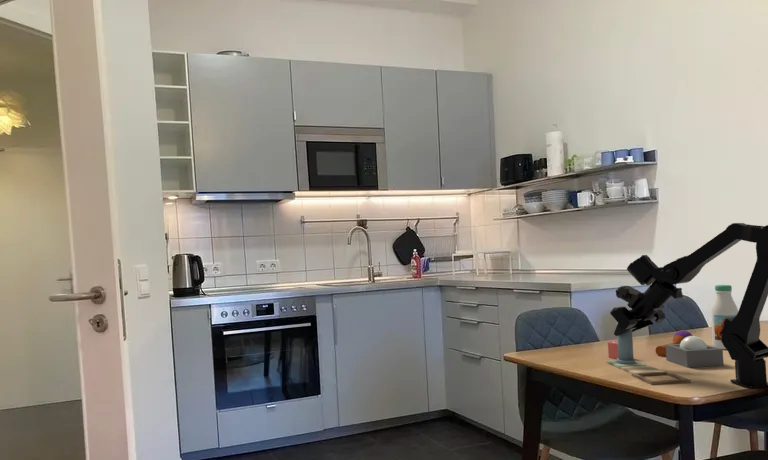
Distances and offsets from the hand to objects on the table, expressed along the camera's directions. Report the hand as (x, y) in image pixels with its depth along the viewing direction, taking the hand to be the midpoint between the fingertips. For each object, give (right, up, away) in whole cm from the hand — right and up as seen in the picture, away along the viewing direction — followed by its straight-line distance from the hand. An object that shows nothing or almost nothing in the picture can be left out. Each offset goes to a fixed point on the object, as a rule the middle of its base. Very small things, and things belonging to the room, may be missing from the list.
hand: (620, 334), depth 165 cm
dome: (+20, -7, -2) cm, 22 cm away
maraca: (+24, -9, +15) cm, 29 cm away
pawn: (+1, -8, -1) cm, 8 cm away
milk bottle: (+41, -8, +17) cm, 45 cm away
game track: (+2, -8, -10) cm, 13 cm away
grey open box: (+20, -8, -2) cm, 22 cm away
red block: (+4, -9, +9) cm, 13 cm away
